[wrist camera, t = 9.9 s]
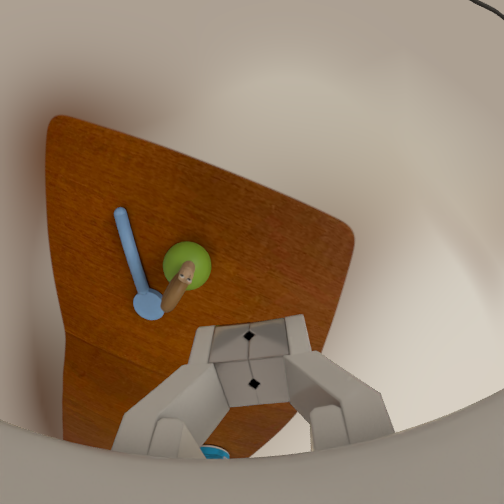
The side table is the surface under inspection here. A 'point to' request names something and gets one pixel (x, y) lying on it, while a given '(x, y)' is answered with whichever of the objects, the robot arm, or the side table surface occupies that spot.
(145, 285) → the blue spoon
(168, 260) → the snail figurine
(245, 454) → the side table surface
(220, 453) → the beverage bottle
